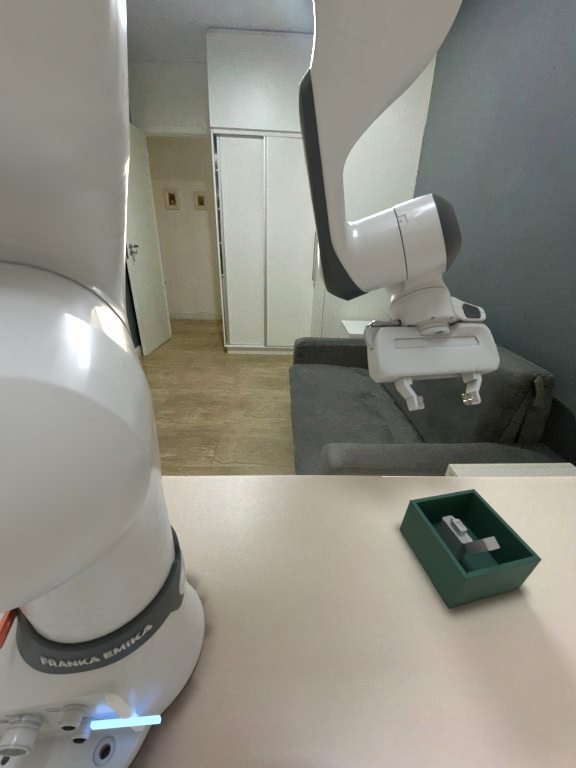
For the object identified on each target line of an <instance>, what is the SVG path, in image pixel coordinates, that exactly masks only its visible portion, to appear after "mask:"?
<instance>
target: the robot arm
mask: <svg viewBox="0 0 576 768" xmlns="http://www.w3.org/2000/svg"><path fill="white" fill-rule="evenodd" d="M463 1H464V0H312V5H313V17H314V19H313V20H314V21H313V23H314V29H313V30H314V31H313V33H314V34H313V46H312V54H311V59H310V60H311V61H310V66H309V67H308V68H307V70H306V71H305V73H304V75H303V77H302V79H301V80H300V82H299V88H298V116H299V127H300V134H301V140H302V148H303V157H304V165H305V171H306V176H307V183H308V188H309V197H310V201H311V207H312V214H313V220H314V226H315V233H316V238H317V267H318V268H317V269H318V273H319V277H320V280H321V282H322V284H323V287H324V288H325V290H326V292H327V293H329V294H330V295H331V296H334V297H336V298H339V299H341V300H343V301H347V302H349V301H351V300H354V299H356V298H359V297H362V296H364V295H367V294H368V293H370V292H372V291H377V290H379V289H380V290H381V289H384V290H385V291H386V293H387V295H388V298H389V313H390V317H391V319H387V320H378V319H375V320H372V321H370V323H368V324H366V325H365V326H364V329H363V338H364V343H365V345H366V349H367V350H366V351H367V352H366V354H367V366H368V367H367V369H368V375H369V377H370V379H371V380H372V381H373V382H375V384H381V383H382V384H383V383H394V385H395V389H396V391H397V392H398V393H399V394H400V395H401V396H402V398H403V399H404V400H405V403H406V405H407V409H408V411H409V412H415V411H422V410H424V409H425V403H424V396H423V395H417V394H416V392H415V390H414V389H413V388H412V387H411V385H413V384H414V383H413V381H423V380H438V379H449V378H462V382H463V384H466V388H465V393H462V394H461V398H462V400H463V405H464V406H474V405H479V404H481V403H482V399H481V395H480V389H481V386H482V381H483V378H482V376H484V375H486V374H489V373H491V372H495V371H497V370H498V369H499V366H500V362H501V360H500V359H501V358H500V355H499V352H498V348H497V344H496V343H495V342H496V341H495V339H494V337H493V334H492V331H491V329H490V328H489V327H488V325H486V324H485V323H482V322H484V321H485V320H486V319H487V315H486V312H485V310H484V308H483V307H481V306H478V305H474V304H472V303H469V302H466V301H463V300H461V299H459V298H457V297H455V296H451V292H450V290H449V288H448V287H447V285H446V284H445V282H444V279H443V274H444V273H447V271H448V270H450V267H451V266H452V265H453V264H454V262H455V260H456V258H457V257H458V255H459V254H460V252H461V249H462V246H463V245H462V244H463V240H462V239H463V238H462V232H461V229H460V225H459V222H458V218H457V215H456V212H455V209H454V206H453V204H452V203H451V202H449V200H447V199H445V198H444V197H443V196H440V195H439V194H436V193H427V194H424V195H420V196H417V197H415V198H412V199H409V200H407V201H404V202H401V203H398V204H396V205H394V206H392V207H390V208H387V209H384V210H382V211H380V212H376V213H374V214H371V215H370V216H369V215H368V216H366V217H363V218H361V219H359V220H356V221H347V217H346V216H347V215H346V202H345V201H346V200H345V188H344V187H345V185H344V168H345V165H346V162H347V159H348V157H349V155H350V153H351V152H352V150H353V148H354V147H355V145H356V144H357V142H358V141H359V140H360V138H361V137H362V136H363V135H364V134H365V132H366V131H367V130H368V129H369V128H370V127H371V126H372V124H374V122H376V120H377V119H378V118H379V117H380V116H382V114H383V113H384V112H386V110H388V108H389V107H391V106H392V105H393V103H395V102H396V101H397V100H398V99H399V98H400V97H401V96H402V95H404V94H405V92H406V91H407V90H409V88H410V87H412V85H413V84H414V83H415V82H416V80H417V79H418V78H419V77H420V76H421V75H422V74H423V72H424V71H425V70H426V68H427V67H428V66H429V64H431V62H432V60H433V59H434V57H435V56H436V54H437V53H438V52H439V50H440V48H441V47H442V45H443V43H444V42H445V40H446V39H447V36H448V34H449V33H450V30H451V28H452V27H453V24H454V22H455V21H456V18H457V15H458V14H459V11H460V8H461V5H462V3H463ZM127 25H128V23H127V0H0V768H129V767H130V765H132V763H133V761H134V759H135V758H136V756H137V754H138V753H139V751H140V749H141V747H142V746H143V744H144V741H145V739H146V737H147V735H148V734H149V732H150V729H151V728H152V727H153V725H159V724H161V721H162V717H161V715H162V714H163V713H164V712H165V711H166V710H167V709H168V707H169V706H170V705H171V704H172V703H173V702H174V701H175V699H176V698H177V697H178V696H179V695H180V693H181V692H182V690H183V689H184V687H185V686H186V685H187V682H188V681H189V679H190V678H191V676H192V674H193V672H194V670H195V667H196V666H197V663H198V660H199V658H200V655H201V652H202V648H203V644H204V638H205V629H206V621H205V620H206V618H205V611H204V607H203V603H202V600H201V598H200V596H199V594H198V592H197V591H196V589H195V588H194V587H193V585H191V584H190V582H189V581H187V569H186V564H185V563H186V562H185V558H184V553H183V550H182V549H181V544H180V541H179V537H178V534H177V532H176V530H175V529H174V527H173V525H172V524H171V521H170V517H169V511H168V505H167V501H166V496H165V491H164V486H163V477H162V475H163V472H162V461H161V452H160V451H161V450H160V442H159V437H158V429H157V423H156V416H155V409H154V403H153V398H152V397H153V396H152V392H151V389H150V388H151V387H150V385H149V382H148V379H147V376H146V374H145V371H144V369H143V367H142V363H141V361H140V358H139V355H138V352H137V350H136V348H135V343H134V340H133V337H132V332H131V329H130V325H129V319H128V315H127V314H128V313H127V303H126V302H127V301H126V298H127V297H126V295H127V294H126V259H127V258H126V257H127V256H126V254H127V253H126V252H127V251H126V249H127V248H126V247H127V246H126V245H127V213H128V212H127V211H128V189H129V188H128V186H129V171H130V170H129V168H130V160H131V129H130V128H131V127H130V126H131V124H130V121H131V120H130V93H129V92H130V91H129V90H130V89H129V61H128V60H129V59H128V56H129V55H128V29H127V28H128V27H127ZM107 747H110V750H109V753H108V755H107V756H106V757H105V758H102V755H103V752H104V751H105V749H106V748H107Z"/></svg>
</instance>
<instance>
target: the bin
mask: <svg viewBox="0 0 576 768" xmlns="http://www.w3.org/2000/svg"><path fill="white" fill-rule="evenodd" d="M405 510H406V511H405V512H404V516H403V518H402V521H401V524H400V526H399V530H400V532H401V533H402V535H403V537H404V538H405V540H406V542H407V543H408V545H409V547H410V548H411V550H412V552H413V553H414V555H415V556H416V558H417V559H418V561H419V563H420V565H421V566H422V568H423V570H424V571H425V572H426V574H427V576H428V578H429V580H430V581H431V583H432V584H433V586H434V587H435V589H436V591H437V592H438V594H439V596H440V597H441V599H442V600H443V602H444V604H445V605H446V607H447V608H448V609H450V608H453V607H458V606H461V605H464V604H467V603H472V602H475V601H478V600H482V599H486V598H489V597H492V596H496V595H500V594H504V593H507V592H510V591H514V590H518V589H520V588H521V587H522V586H523V584H524V583H525V582H526V581H527V579H528V578H529V577H530V576H531V574H532V573H533V571H534V570H535V569H536V568H537V566H538V565H539V564H540V563H541V561H542V560H543V559H542V558H541V557H540V556H539V554H537V553H536V552H535V550H533V548H532V547H530V545H529V544H528V543H527V542H526V541H525V540H524V539H523V538H522V537H521V536H520V535H519V534H518V533H517V532H516V531H515V530H514V529H513V528H512V526H510V524H509V523H508V522H506V521H505V519H504V518H503V517H502V516H501V515H500V514H499V513H498V512H497V511H496V510H495V509H494V508H493V507H492V506H491V505H490V504H489V503H488V502H487V501H486V500H485V498H484V497H483V496H482V495H480V494H479V492H478V491H477V490H476V489H475V488H471V489H466V490H465V489H464V490H460V491H454V492H448V493H443V494H437V495H431V496H427V497H421V498H416V499H410V500H409V503H408V505H407V507H406V509H405ZM446 516H453V517H454V518H455V519H459V520H460V521H461V522H462V524H463V525H464V526H465V527H466V528H467V531H466V533H467V534H468V535H469V537H470V538H471V539H472V541H476V540H480V539H484V538H489V537H493V536H494V537H495V539H496V541H497V543H498V545H499V547H500V548H498V549H494V550H491V551H486V552H480V553H475V554H470V555H469V554H468V552H466V554H465V555H464V557H463V559H462V560H461V561H457V559H456V558H455V556H454V555H453V554H452V552H451V551H450V550H449V548H448V547H447V545H446V544H445V543H444V541H443V540H442V538H441V537H440V536H439V534H438V533H437V529H438V527H439V525H440V522H441V520H442V518H443V517H446Z"/></svg>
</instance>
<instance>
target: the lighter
mask: <svg viewBox="0 0 576 768" xmlns="http://www.w3.org/2000/svg"><path fill="white" fill-rule="evenodd" d="M466 531H467V528H466V527H465V526H464V525H463V524H462V522H461V521H460V520H459V519H455V518H454V517H453V516H446V517H443V518H442V520H441V522H440V525H439V527H438V529H437V533H438V534H439V536H440V537H441V538H442V540H443V541H444V543H445V544H446V545H447V547H448V548H449V550H450V551H451V552H452V554H453V555H454V556H455V558H456V559H457V561H461V560H462V559H463V557H464V555H465V554H466V552H468V554H469V555H470V554H475V553H480V552H486V551H491V550H494V549H498V548H500V547H499V545H498V543H497V541H496V539H495V537H494V536H493V537H489V538H484V539H480V540H476V541H472V539H471V538H470V537H469V535H468V534H467V533H466Z"/></svg>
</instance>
